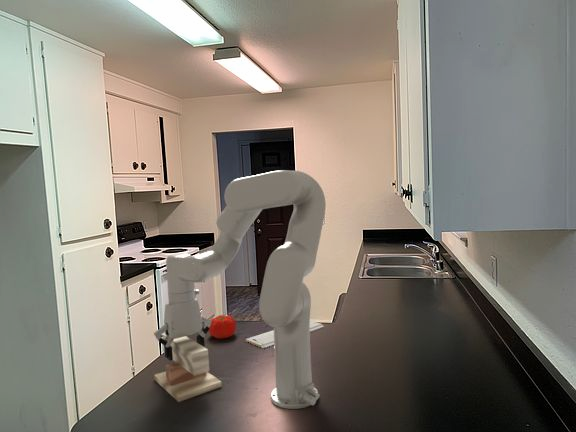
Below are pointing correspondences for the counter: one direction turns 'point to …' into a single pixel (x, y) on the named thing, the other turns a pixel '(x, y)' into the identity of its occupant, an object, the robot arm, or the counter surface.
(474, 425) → the counter surface
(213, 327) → the tomato
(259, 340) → the baseboard molding
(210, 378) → the ridge stand
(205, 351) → the birch bar
